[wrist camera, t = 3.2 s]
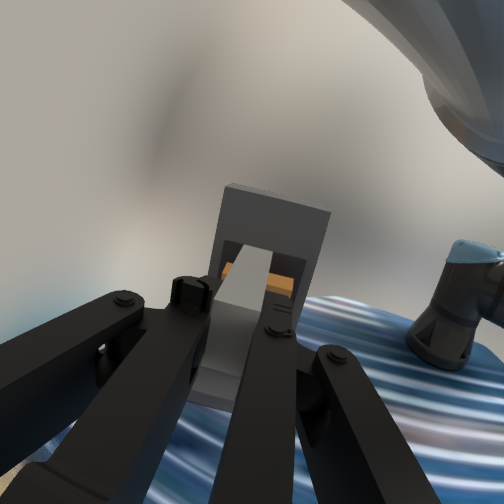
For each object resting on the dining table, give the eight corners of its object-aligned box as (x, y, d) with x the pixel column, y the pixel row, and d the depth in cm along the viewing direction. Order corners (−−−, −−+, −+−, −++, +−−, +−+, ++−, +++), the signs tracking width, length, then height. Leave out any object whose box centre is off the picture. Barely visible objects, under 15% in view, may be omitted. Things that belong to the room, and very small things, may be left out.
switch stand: (186, 337, 43) (214, 175, 36) (295, 365, 42) (346, 207, 35) (156, 390, 32) (180, 183, 25) (293, 425, 31) (371, 230, 24)
